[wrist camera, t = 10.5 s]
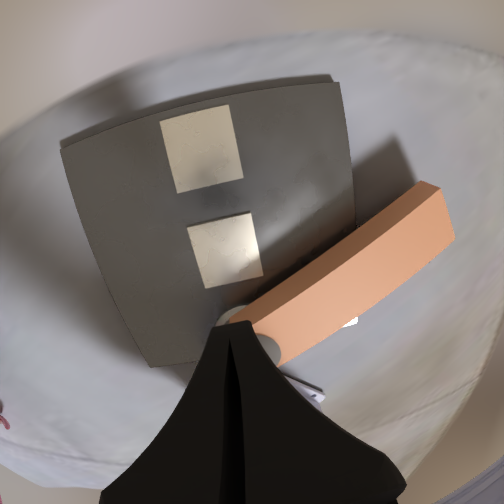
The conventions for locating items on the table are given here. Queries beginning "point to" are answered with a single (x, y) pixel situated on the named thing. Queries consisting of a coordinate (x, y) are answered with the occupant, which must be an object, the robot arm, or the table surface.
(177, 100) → the table surface
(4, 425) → the spiral basket
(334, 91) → the label plate
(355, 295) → the swing bar
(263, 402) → the robot arm
